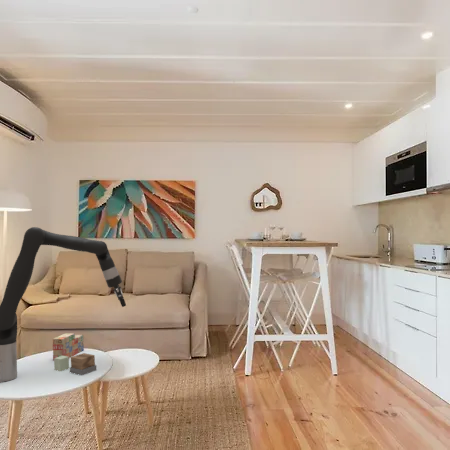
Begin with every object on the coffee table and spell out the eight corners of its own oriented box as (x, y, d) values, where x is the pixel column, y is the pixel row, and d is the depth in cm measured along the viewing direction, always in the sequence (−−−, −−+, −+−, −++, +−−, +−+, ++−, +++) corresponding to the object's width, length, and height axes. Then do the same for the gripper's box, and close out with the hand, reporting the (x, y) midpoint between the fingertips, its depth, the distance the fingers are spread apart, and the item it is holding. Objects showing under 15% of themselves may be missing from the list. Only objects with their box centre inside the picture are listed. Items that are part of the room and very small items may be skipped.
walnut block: (81, 369, 202) (81, 359, 202) (71, 367, 206) (70, 357, 206) (94, 365, 209) (94, 355, 209) (84, 362, 213) (83, 353, 213)
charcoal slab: (81, 376, 202) (81, 370, 202) (69, 373, 206) (69, 367, 206) (96, 371, 209) (96, 365, 209) (84, 368, 214) (84, 362, 214)
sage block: (60, 371, 209) (60, 359, 209) (54, 369, 211) (54, 358, 212) (68, 368, 213) (68, 356, 213) (62, 367, 216) (62, 355, 216)
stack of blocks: (74, 350, 248) (74, 329, 248) (83, 350, 247) (83, 329, 247) (52, 361, 227) (52, 338, 228) (63, 361, 226) (62, 338, 226)
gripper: (105, 278, 222) (116, 305, 224) (105, 281, 209) (117, 310, 210) (118, 272, 224) (129, 299, 226) (119, 275, 211) (131, 304, 212)
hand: (123, 304), depth 218 cm, fingers open, 8 cm apart
